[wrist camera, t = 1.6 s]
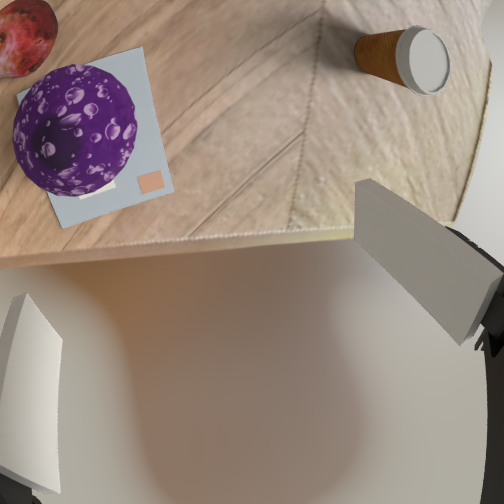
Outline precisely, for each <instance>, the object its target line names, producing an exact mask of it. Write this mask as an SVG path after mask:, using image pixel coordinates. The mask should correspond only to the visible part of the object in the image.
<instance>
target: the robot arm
mask: <svg viewBox="0 0 504 504" xmlns="http://www.w3.org/2000/svg"><path fill="white" fill-rule="evenodd" d="M354 241H355V242H357V244H359V245H360V246H361V247H362V248H363V249H364V250H365V251H366V252H367V253H368V254H369V255H371V257H373V258H374V259H375V260H376V261H377V262H378V263H379V264H380V265H381V266H382V267H383V268H384V269H385V270H386V271H387V272H388V273H390V275H391V276H392V277H393V278H394V279H396V280H397V281H398V282H399V283H400V284H401V285H402V286H403V287H404V288H405V289H406V290H407V291H408V292H409V293H410V294H411V295H412V296H413V297H414V298H415V299H416V300H417V301H418V302H419V303H420V304H421V306H422V307H423V308H424V309H425V310H426V311H427V312H428V313H429V314H430V315H431V316H432V317H433V318H434V319H435V320H436V321H437V322H438V323H439V324H440V325H441V326H442V327H443V329H444V330H445V331H446V332H447V333H448V334H449V335H450V336H451V337H452V338H453V339H454V340H455V342H456V343H457V344H458V345H459V346H461V345H463V344H464V343H465V342H466V341H468V340H469V339H470V338H471V337H473V336H474V334H475V332H476V330H477V329H478V327H479V325H480V323H481V324H482V325H483V327H485V328H484V330H483V332H482V334H481V335H480V337H479V339H478V341H477V342H476V344H475V349H474V350H478V348H479V346H480V345H481V343H482V341H483V346H482V348H481V351H484V355H485V366H486V380H487V402H488V403H487V408H488V419H487V422H488V423H487V427H488V428H487V448H486V462H485V472H484V480H483V488H482V494H481V501H480V504H504V266H502V265H501V264H500V263H499V262H498V261H496V260H495V259H494V258H493V257H491V256H490V255H489V254H488V253H486V252H485V251H484V250H483V249H481V248H478V246H477V245H476V244H475V243H474V242H470V240H469V239H468V238H467V237H466V236H464V235H463V234H461V233H460V232H458V231H456V230H454V229H451V228H449V227H447V226H445V227H444V226H443V225H441V224H440V223H438V222H437V221H436V220H434V219H433V218H431V217H430V216H428V215H427V214H425V213H424V212H422V211H421V210H419V209H418V208H417V207H415V206H414V205H412V204H410V203H409V202H407V201H406V200H404V199H403V198H401V197H400V196H398V195H397V194H395V193H393V192H392V191H390V190H389V189H387V188H385V187H384V186H382V185H380V184H379V183H377V182H376V181H374V180H372V179H371V178H369V179H365V180H362V181H358V182H355V219H354ZM62 343H63V340H62V339H61V338H60V336H59V335H58V334H57V333H56V331H55V330H54V329H53V328H52V326H51V325H50V324H49V322H48V321H47V320H46V318H45V317H44V316H43V314H42V313H41V312H40V310H39V309H38V307H37V306H36V305H35V303H34V302H33V300H32V299H31V298H30V296H29V295H28V293H27V292H26V293H24V294H21V295H19V296H17V297H14V298H13V300H12V302H11V305H10V308H9V311H8V314H7V317H6V321H5V324H4V327H3V330H2V334H1V337H0V504H42V503H41V502H40V501H39V500H38V499H37V498H36V497H35V496H33V495H32V489H34V490H36V491H38V492H41V493H43V494H61V488H60V479H59V464H58V439H57V438H58V437H57V413H58V388H59V373H60V361H61V351H62Z"/></svg>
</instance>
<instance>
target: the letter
mask: <svg viewBox="0 0 504 504" xmlns="http://www.w3.org/2000/svg"><path fill="white" fill-rule="evenodd" d="M85 65H90V66H95V67H97V68H99V69H102V70H104V71H106V72H109V73H111V74H112V75H113V76H114V77H115V78H116V79H117V80H118V81H120V82H121V83H122V84H123V85H124V86H125V87H126V89H127V91H128V93H129V95H130V97H131V99H132V101H133V103H134V105H135V110H136V118H137V126H138V128H137V134H136V139H135V145H134V149H133V151H132V153H131V155H130V157H129V159H128V161H127V163H126V165H125V167H124V168H123V169H122V170H121V171H120V172H119V173H118V175H117V176H116V177H115V178H114V179H113V180H112V181H111V182H110V183H108V184H106V185H105V186H103V187H102V188H100V189H98V190H97V191H95V192H92V193H89V194H85V195H81V196H77V197H69V196H56V195H54V194H52V193H50V192H48V191H47V193H48V196H49V198H50V201H51V203H52V206H53V208H54V210H55V213H56V215H57V217H58V220H59V222H60V224H61V227H62V229H64V228H67V227H70V226H72V225H75V224H78V223H81V222H84V221H86V220H89V219H92V218H95V217H98V216H101V215H104V214H106V213H109V212H112V211H115V210H118V209H121V208H125V207H128V206H131V205H134V204H137V203H140V202H143V201H147V200H150V199H153V198H156V197H160V196H163V195H166V194H170V193H173V192H174V188H173V184H172V180H171V176H170V172H169V168H168V164H167V160H166V156H165V152H164V148H163V143H162V139H161V135H160V130H159V126H158V121H157V117H156V112H155V108H154V103H153V98H152V93H151V89H150V84H149V79H148V74H147V68H146V63H145V58H144V52H143V47H139V48H135V49H132V50H128V51H125V52H121V53H118V54H114V55H111V56H108V57H105V58H102V59H99V60H96V61H93V62H90V63H87V64H85ZM30 89H31V87H30V88H28V89H26V90H24V91H22V92H20V93H18V94H17V99H18V103H19V106H20V103H21V101H22V99H23V98H24V97H25V95H26V94H27V93H28V91H29V90H30Z"/></svg>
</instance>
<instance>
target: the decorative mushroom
mask: <svg viewBox="0 0 504 504" xmlns="http://www.w3.org/2000/svg"><path fill="white" fill-rule="evenodd" d="M137 128H138V126H137V118H136V110H135V105H134V103H133V101H132V99H131V97H130V95H129V93H128V91H127V89H126V87H125V86H124V85H123V84H122V83H121V82H120V81H118V80H117V79H116V78H115V77H114V76H113V75H112V74H111V73H109V72H106V71H104V70H102V69H99V68H97V67H95V66H90V65H74V64H72V65H69V66H66V67H62V68H59V69H56V70H53V71H51V72H50V73H48V74H47V75H46V76H44V77H43V78H41V79H40V80H39V81H37V82H36V83H35V84H34V85H33V86H32V87H31V89H30V90H29V91H28V93H27V94H26V95H25V97H24V98H23V99H22V101H21V103H20V106H19V108H18V111H17V114H16V116H15V119H14V127H13V145H14V150H15V154H16V158H17V161H18V163H19V164H20V166H21V168H22V169H23V171H24V173H25V174H26V176H27V177H28V178H29V179H30V180H32V181H33V182H34V183H35V184H36V185H37V186H39V187H40V188H41V189H43V190H46V191H48V192H50V193H52V194H54V195H56V196H69V197H77V196H81V195H85V194H89V193H92V192H95V191H97V190H98V189H100V188H102V187H103V186H105V185H106V184H108V183H110V182H111V181H112V180H113V179H114V178H115V177H116V176H117V175H118V173H119V172H120V171H121V170H122V169H123V168H124V167H125V165H126V163H127V161H128V159H129V157H130V155H131V153H132V151H133V149H134V145H135V139H136V134H137Z"/></svg>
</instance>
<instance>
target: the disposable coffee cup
mask: <svg viewBox="0 0 504 504" xmlns="http://www.w3.org/2000/svg"><path fill="white" fill-rule="evenodd" d="M354 52H355V59H356V62H357V64H358V66H359V67H360V68H361V70H363V71H364V72H365V73H367V74H371V75H373V76H376V77H379V78H382V79H385V80H388V81H391V82H393V83H396V84H399V85H401V86H404V87H406V88H409V89H410V90H411V91H412V92H413V93H415V94H417V95H419V96H424V97H428V96H432V95H436V94H439V93H441V92H442V91H443V90H444V89H445V88H446V86H447V84H448V83H449V80H450V77H451V70H452V62H451V56H450V52H449V49H448V47H447V45H446V43H445V41H444V40H443V38H442V37H441V36H440V35H439V34H438V33H436V32H434V31H432V30H431V29H429V28H427V27H425V26H420V25H416V26H412V27H410V28H408V29H406V30H398V31H391V32H385V33H379V34H373V35H368V36H364V37H362V38H360V39H359V40H358V42H357V44H356V46H355V51H354Z"/></svg>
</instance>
